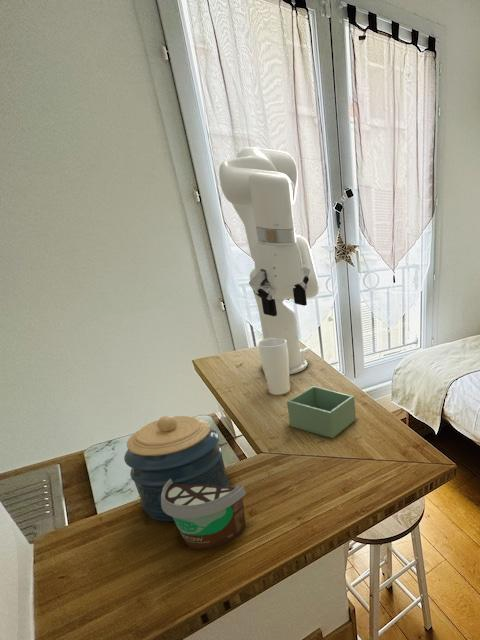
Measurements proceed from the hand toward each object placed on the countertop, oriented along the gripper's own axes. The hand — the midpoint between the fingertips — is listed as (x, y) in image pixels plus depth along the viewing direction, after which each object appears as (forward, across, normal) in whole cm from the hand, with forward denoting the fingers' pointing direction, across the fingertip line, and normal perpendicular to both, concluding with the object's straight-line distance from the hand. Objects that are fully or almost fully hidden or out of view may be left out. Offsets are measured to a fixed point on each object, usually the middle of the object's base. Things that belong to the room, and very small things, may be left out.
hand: (286, 309), depth 95 cm
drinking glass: (+27, -3, -9) cm, 29 cm away
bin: (+26, +5, +12) cm, 29 cm away
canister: (+26, +36, +6) cm, 45 cm away
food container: (+26, +42, +18) cm, 52 cm away
